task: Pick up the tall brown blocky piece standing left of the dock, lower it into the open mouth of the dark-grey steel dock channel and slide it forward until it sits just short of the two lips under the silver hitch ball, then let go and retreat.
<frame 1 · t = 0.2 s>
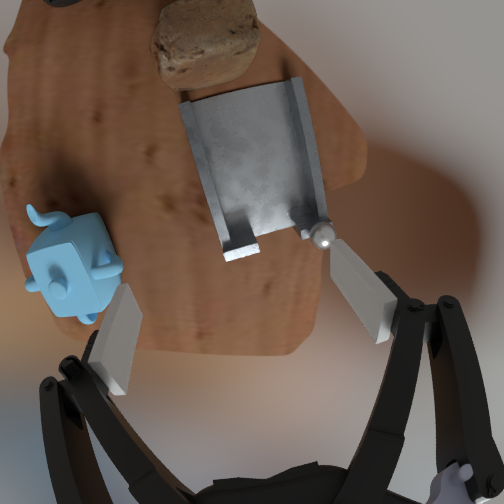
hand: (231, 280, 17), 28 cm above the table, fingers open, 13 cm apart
dock: (255, 158, 40), on the table
brown blocky piece: (203, 68, 33), on the table
teapot: (85, 240, 42), on the table
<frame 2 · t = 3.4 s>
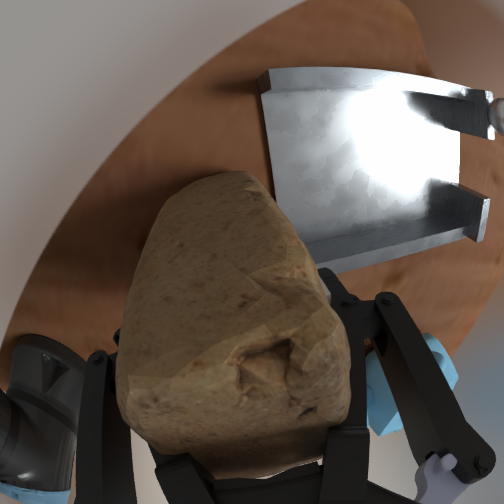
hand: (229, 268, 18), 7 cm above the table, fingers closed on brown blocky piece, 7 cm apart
dock: (379, 160, 24), on the table
brown blocky piece: (223, 226, 25), on the table, touching gripper
teapot: (380, 360, 39), on the table
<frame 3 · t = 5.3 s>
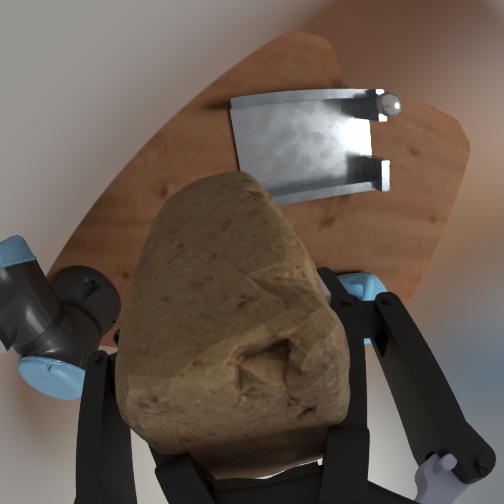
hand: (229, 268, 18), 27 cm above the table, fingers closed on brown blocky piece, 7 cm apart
dock: (304, 142, 41), on the table
brown blocky piece: (222, 226, 25), point 20 cm above the table, touching gripper
teapot: (332, 294, 57), on the table
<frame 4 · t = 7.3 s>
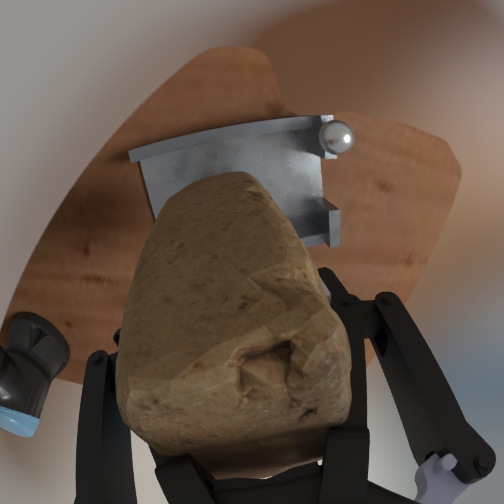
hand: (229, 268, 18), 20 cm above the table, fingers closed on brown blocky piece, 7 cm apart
dock: (231, 189, 36), on the table
brown blocky piece: (223, 226, 25), point 13 cm above the table, touching gripper
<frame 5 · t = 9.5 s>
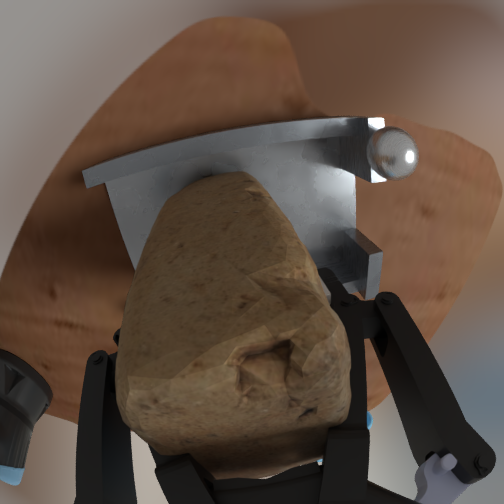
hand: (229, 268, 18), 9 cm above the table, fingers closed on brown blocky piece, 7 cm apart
dock: (233, 219, 26), on the table
brown blocky piece: (223, 226, 25), point 1 cm above the table, touching gripper
when the fingers open (9 cm above the table, at t = 11.3 s): brown blocky piece stays where it is, resting on dock.
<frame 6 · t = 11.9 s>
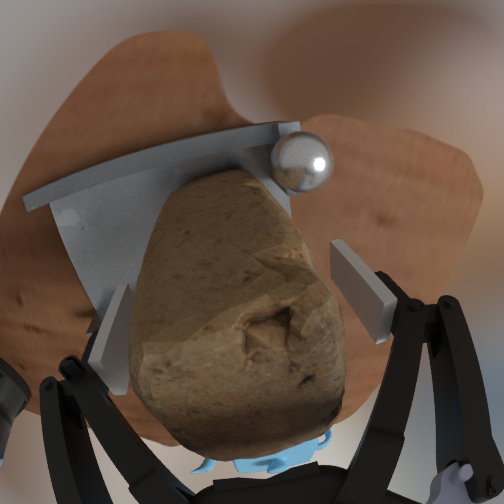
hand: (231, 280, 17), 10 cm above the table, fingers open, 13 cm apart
dock: (162, 234, 26), on the table
brown blocky piece: (221, 222, 26), resting on dock
teapot: (252, 402, 41), on the table
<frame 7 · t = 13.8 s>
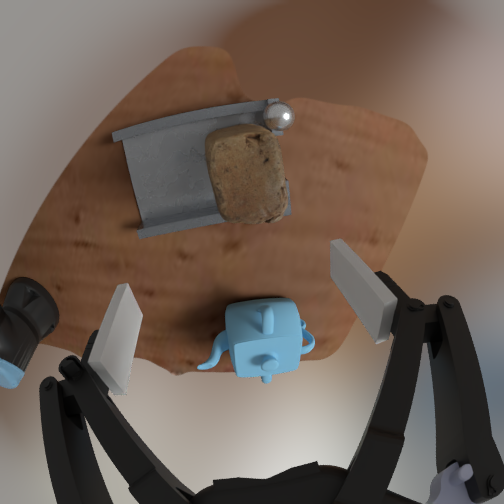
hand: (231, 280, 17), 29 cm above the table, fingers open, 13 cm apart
dock: (197, 165, 41), on the table
brown blocky piece: (235, 158, 41), resting on dock
teapot: (250, 317, 56), on the table
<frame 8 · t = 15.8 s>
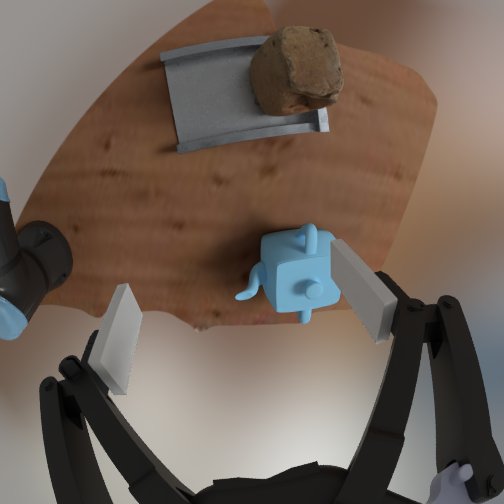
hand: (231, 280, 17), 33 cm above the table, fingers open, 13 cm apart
dock: (237, 90, 39), on the table
brown blocky piece: (272, 86, 40), resting on dock
teapot: (284, 254, 55), on the table
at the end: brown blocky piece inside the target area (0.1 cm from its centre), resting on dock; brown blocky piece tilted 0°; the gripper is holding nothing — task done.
